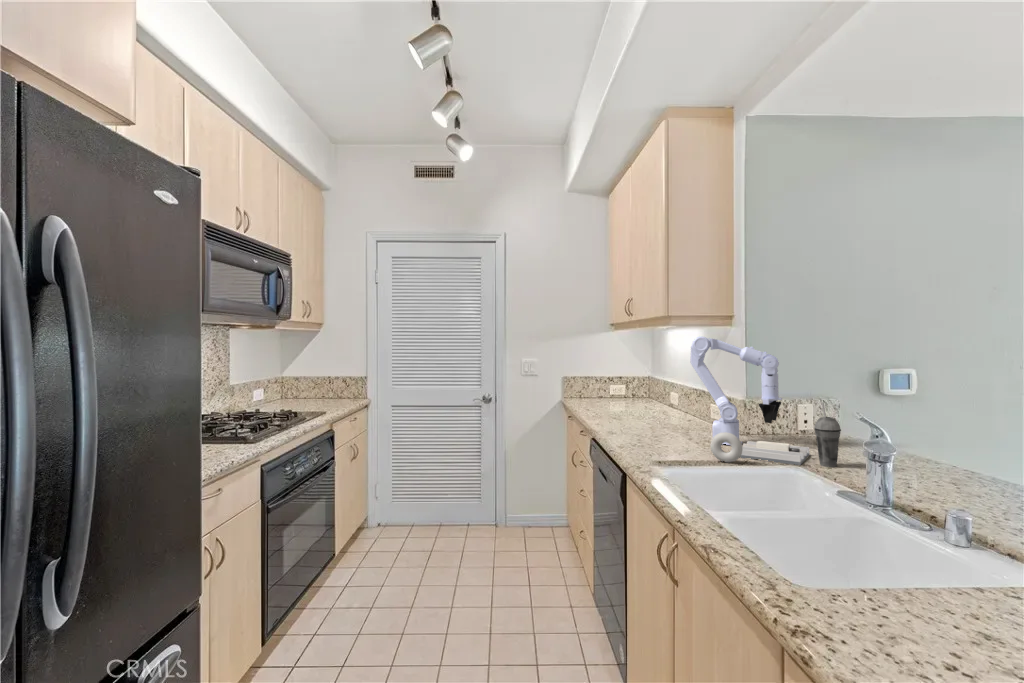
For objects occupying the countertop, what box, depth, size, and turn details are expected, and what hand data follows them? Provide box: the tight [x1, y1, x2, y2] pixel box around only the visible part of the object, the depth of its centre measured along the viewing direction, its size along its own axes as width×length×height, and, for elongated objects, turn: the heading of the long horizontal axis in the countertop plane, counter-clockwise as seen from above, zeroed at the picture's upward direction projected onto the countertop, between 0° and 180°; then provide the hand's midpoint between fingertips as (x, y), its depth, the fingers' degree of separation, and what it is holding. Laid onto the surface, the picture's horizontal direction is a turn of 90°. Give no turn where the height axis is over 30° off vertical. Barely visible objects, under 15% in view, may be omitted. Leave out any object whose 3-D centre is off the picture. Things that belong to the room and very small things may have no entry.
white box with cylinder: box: [755, 440, 800, 453], centre depth 169 cm, size 13×3×4 cm, turn 50°
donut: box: [709, 432, 743, 463], centre depth 163 cm, size 10×3×10 cm, turn 55°
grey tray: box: [740, 440, 811, 466], centre depth 170 cm, size 20×18×3 cm
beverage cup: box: [813, 402, 842, 468], centre depth 156 cm, size 7×7×20 cm
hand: (770, 421), depth 187 cm, fingers open, 7 cm apart
